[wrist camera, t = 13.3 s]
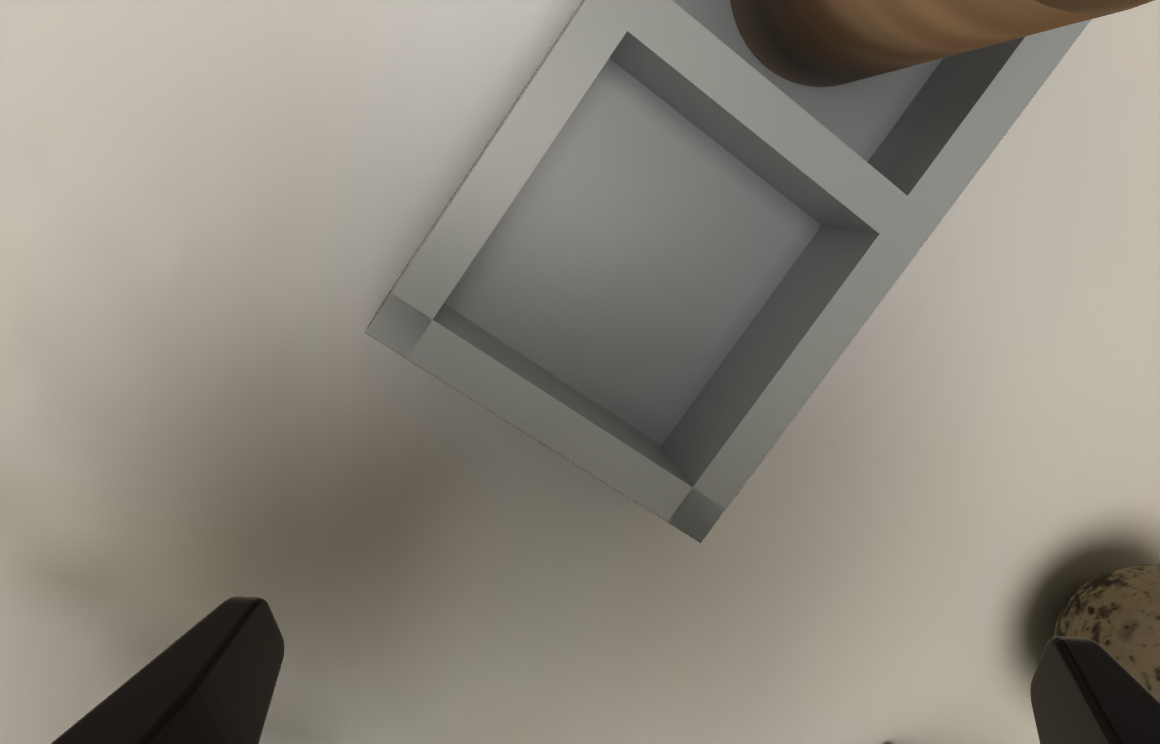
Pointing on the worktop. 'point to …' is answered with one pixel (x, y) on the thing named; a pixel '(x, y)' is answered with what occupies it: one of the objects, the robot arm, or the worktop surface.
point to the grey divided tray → (689, 240)
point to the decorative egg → (1120, 619)
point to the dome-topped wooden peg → (892, 31)
